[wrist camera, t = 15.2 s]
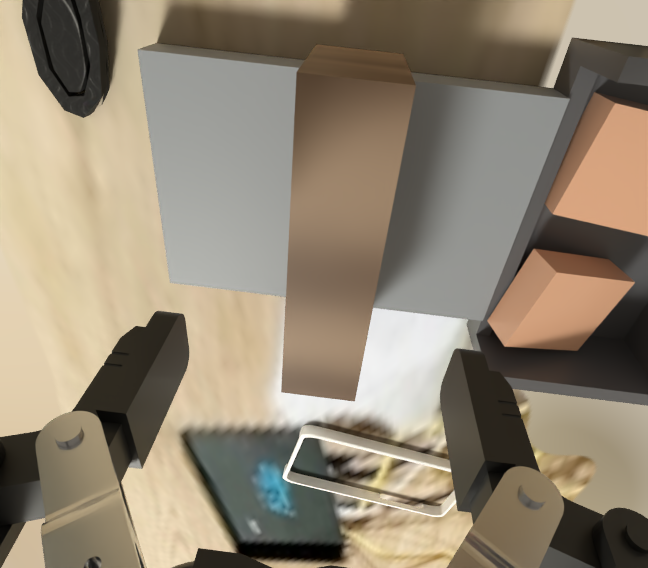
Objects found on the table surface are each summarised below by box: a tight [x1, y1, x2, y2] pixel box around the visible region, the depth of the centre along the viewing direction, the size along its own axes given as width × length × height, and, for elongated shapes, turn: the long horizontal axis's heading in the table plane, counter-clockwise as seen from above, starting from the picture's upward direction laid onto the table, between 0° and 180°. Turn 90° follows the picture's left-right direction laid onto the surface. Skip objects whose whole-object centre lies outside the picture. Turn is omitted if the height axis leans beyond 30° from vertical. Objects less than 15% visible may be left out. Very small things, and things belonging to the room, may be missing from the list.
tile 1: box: [545, 92, 648, 236], centre depth 20 cm, size 5×5×2 cm
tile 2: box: [487, 249, 635, 351], centre depth 24 cm, size 5×5×2 cm
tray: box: [467, 38, 648, 405], centre depth 21 cm, size 16×10×5 cm, turn 175°
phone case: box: [283, 425, 456, 517], centre depth 38 cm, size 7×1×15 cm
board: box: [138, 43, 570, 321], centre depth 23 cm, size 12×18×2 cm, turn 85°
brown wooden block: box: [281, 44, 416, 401], centre depth 19 cm, size 14×4×6 cm, turn 175°
